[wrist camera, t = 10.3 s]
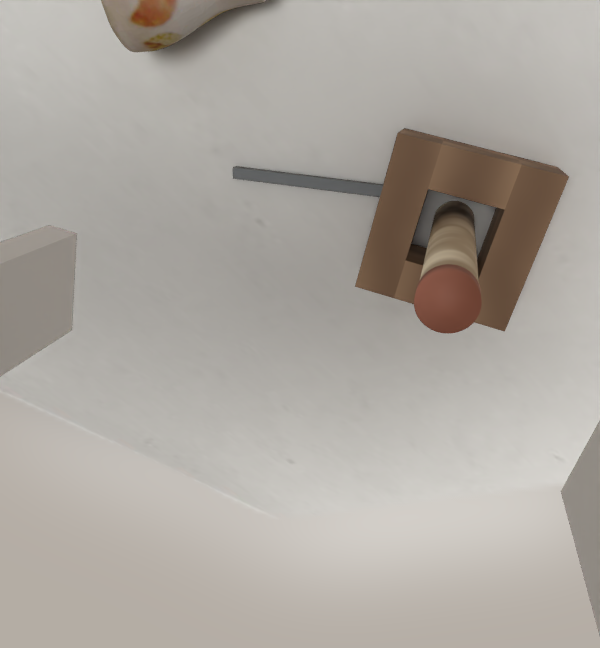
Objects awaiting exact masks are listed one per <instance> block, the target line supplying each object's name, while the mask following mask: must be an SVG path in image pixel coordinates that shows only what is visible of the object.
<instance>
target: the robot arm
mask: <svg viewBox="0 0 600 648" xmlns="http://www.w3.org/2000/svg"><path fill="white" fill-rule="evenodd" d="M76 240H77V233H74V232H70V231H67V230H64V229H61V228H57V227H54V226H51V225H48V226H45V227H43V228H40V229H37V230H34V231H31V232H28V233H25V234H23V235H20V236H17V237H14V238H11V239H8V240H5V241H3V242H0V376H2V375H3V374H5V373H6V372H8V371H10V370H11V369H13V368H14V367H16V366H17V365H19V364H20V363H22V362H23V361H25V360H27V359H28V358H30V357H31V356H33V355H34V354H36V353H37V352H39V351H40V350H42V349H43V348H45V347H47V346H48V345H50V344H51V343H53V342H54V341H56V340H57V339H59V338H60V337H62V336H64V335H65V334H67V333H68V332H70V331H71V330H72V320H73V300H74V280H75V260H76ZM561 494H562V498H563V501H564V505H565V509H566V513H567V516H568V520H569V524H570V527H571V531H572V535H573V539H574V542H575V546H576V550H577V554H578V557H579V561H580V565H581V568H582V572H583V576H584V580H585V583H586V587H587V591H588V594H589V598H590V602H591V605H592V609H593V613H594V617H595V620H596V624H597V628H598V631H599V635H600V421H599V423H598V425H597V426H596V428H595V430H594V432H593V434H592V436H591V437H590V439H589V441H588V443H587V445H586V446H585V448H584V450H583V452H582V454H581V456H580V457H579V459H578V461H577V463H576V465H575V467H574V468H573V470H572V472H571V474H570V476H569V478H568V479H567V481H566V483H565V485H564V487H563V488H562V490H561Z"/></svg>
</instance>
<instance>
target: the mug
mask: <svg viewBox="0 0 600 648" xmlns="http://www.w3.org/2000/svg"><path fill="white" fill-rule="evenodd" d="M101 1H102V4H103V7H104V10H105V13H106V15H107V18H108V21H109V23H110V25H111V27H112V29H113V31H114V33H115V34H116V36H117V37H118V39H119V40H120V41H121V43H122V44H123V45H124V46H125V47H126V48H127V49H128V50H130V51H132V52H146V51H155V50H159V49H162V48H165V47H168V46H170V45H172V44H174V43H176V42H178V41H179V40H181V39H183V38H184V37H186V36H187V35H189V34H190V33H192V32H193V31H195V30H196V29H198V28H199V27H201V26H202V25H204V24H205V23H206V22H208V21H209V20H211V19H212V18H214V17H216V16H217V15H219V14H221V13H223V12H225V11H228V10H230V9H233V8H237V7H241V6H246V5H251V4H257V3H262V2H265V1H266V0H101Z"/></svg>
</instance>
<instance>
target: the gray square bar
mask: <svg viewBox="0 0 600 648" xmlns="http://www.w3.org/2000/svg"><path fill="white" fill-rule="evenodd" d="M233 178H234V179H242V180H250V181H257V182H265V183H273V184H281V185H289V186H297V187H305V188H313V189H320V190H328V191H336V192H344V193H352V194H360V195H368V196H375V197H380V195H381V191H382V188H383V184H375V183H367V182H358V181H350V180H342V179H334V178H326V177H318V176H309V175H301V174H293V173H285V172H277V171H269V170H260V169H252V168H244V167H233Z"/></svg>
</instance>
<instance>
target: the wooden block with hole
mask: <svg viewBox="0 0 600 648" xmlns="http://www.w3.org/2000/svg"><path fill="white" fill-rule="evenodd" d="M568 178H569V176H567V175H566V174H565V173H564V172H563V171H561V170H560V169H559V168H558V167H555V166H551V165H547V164H543V163H539V162H535V161H531V160H528V159H524V158H520V157H516V156H512V155H508V154H504V153H500V152H496V151H492V150H488V149H484V148H480V147H476V146H472V145H469V144H465V143H461V142H457V141H453V140H449V139H445V138H441V137H437V136H433V135H429V134H425V133H421V132H417V131H413V130H409V129H406V128H404V129H403V130H401V131H400V132H398V134H397V137H396V141H395V145H394V148H393V152H392V155H391V159H390V163H389V166H388V170H387V173H386V177H385V181H384V184H383V188H382V191H381V195H380V199H379V202H378V206H377V210H376V213H375V217H374V220H373V224H372V228H371V231H370V235H369V238H368V242H367V246H366V249H365V253H364V256H363V260H362V264H361V267H360V271H359V274H358V278H357V282H356V285H355V287H359V288H362V289H365V290H369V291H372V292H375V293H379V294H382V295H385V296H389V297H392V298H395V299H399V300H402V301H405V302H409V303H412V304H414V298H415V293H416V289H417V285H418V283H419V281H420V277H421V273H422V268H423V264H424V259H425V255H426V251H427V248H425V247H421V246H418V245H414V244H411V243H412V240H413V236H414V233H415V230H416V227H417V224H418V221H419V217H420V214H421V211H422V208H423V205H424V201H425V198H426V195H427V192H428V189H430V190H434V191H437V192H441V193H445V194H448V195H452V196H456V197H460V198H463V199H467V200H471V201H475V202H478V203H482V204H486V205H489V206H493V207H497V208H496V210H495V213H494V216H493V218H492V221H491V224H490V227H489V229H488V232H487V235H486V237H485V240H484V243H483V245H482V248H481V251H480V254H479V256H478V259H477V266H478V279H479V285H480V289H481V301H482V304H481V310H480V313H479V315H478V317H477V319H476V320H475V321H474V322H475V323H478V324H482V325H485V326H488V327H492V328H495V329H498V330H502V331H505V329H506V327H507V324H508V322H509V320H510V317H511V315H512V312H513V310H514V308H515V305H516V303H517V300H518V298H519V296H520V293H521V291H522V288H523V286H524V284H525V281H526V279H527V276H528V274H529V272H530V269H531V267H532V264H533V262H534V260H535V257H536V255H537V252H538V250H539V248H540V245H541V243H542V240H543V238H544V236H545V233H546V231H547V228H548V226H549V224H550V221H551V219H552V216H553V214H554V212H555V209H556V207H557V204H558V202H559V199H560V197H561V195H562V192H563V190H564V187H565V185H566V183H567V180H568Z"/></svg>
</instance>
